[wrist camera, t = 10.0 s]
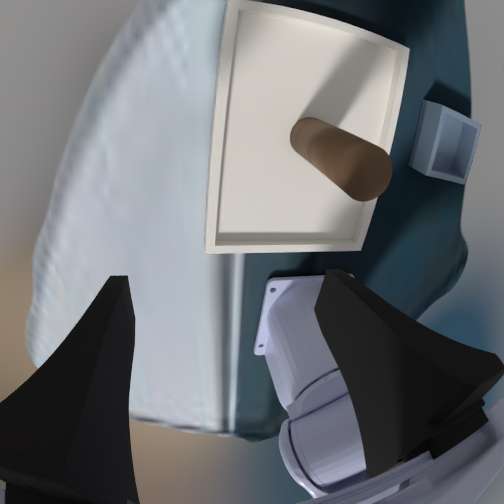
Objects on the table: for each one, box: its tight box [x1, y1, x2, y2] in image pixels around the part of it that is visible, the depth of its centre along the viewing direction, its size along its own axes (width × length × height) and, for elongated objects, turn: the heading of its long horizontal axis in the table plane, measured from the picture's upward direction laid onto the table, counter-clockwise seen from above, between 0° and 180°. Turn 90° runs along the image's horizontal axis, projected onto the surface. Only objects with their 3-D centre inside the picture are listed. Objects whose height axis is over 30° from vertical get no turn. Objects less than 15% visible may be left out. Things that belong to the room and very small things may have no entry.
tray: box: [204, 0, 410, 254], centre depth 17 cm, size 16×12×1 cm
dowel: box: [290, 117, 392, 202], centre depth 15 cm, size 3×3×7 cm
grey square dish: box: [408, 100, 481, 185], centre depth 19 cm, size 6×6×2 cm
